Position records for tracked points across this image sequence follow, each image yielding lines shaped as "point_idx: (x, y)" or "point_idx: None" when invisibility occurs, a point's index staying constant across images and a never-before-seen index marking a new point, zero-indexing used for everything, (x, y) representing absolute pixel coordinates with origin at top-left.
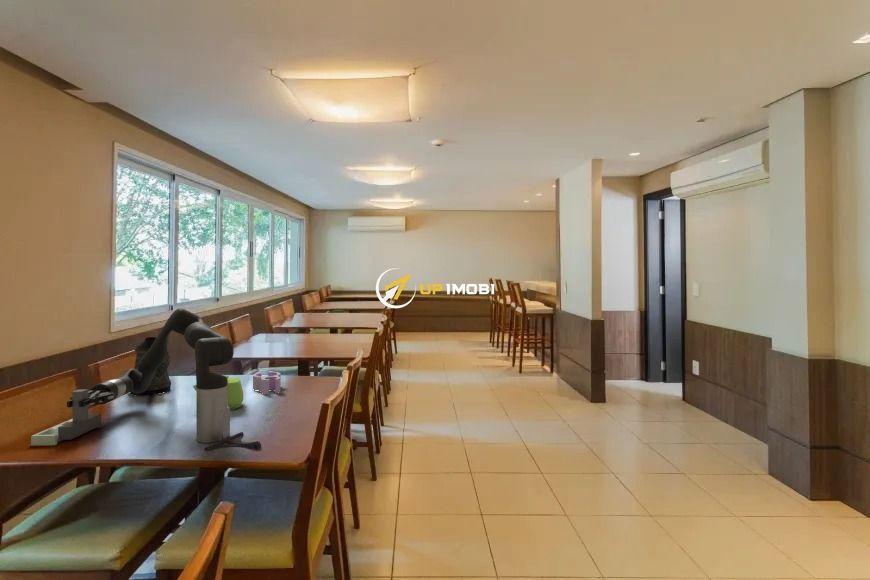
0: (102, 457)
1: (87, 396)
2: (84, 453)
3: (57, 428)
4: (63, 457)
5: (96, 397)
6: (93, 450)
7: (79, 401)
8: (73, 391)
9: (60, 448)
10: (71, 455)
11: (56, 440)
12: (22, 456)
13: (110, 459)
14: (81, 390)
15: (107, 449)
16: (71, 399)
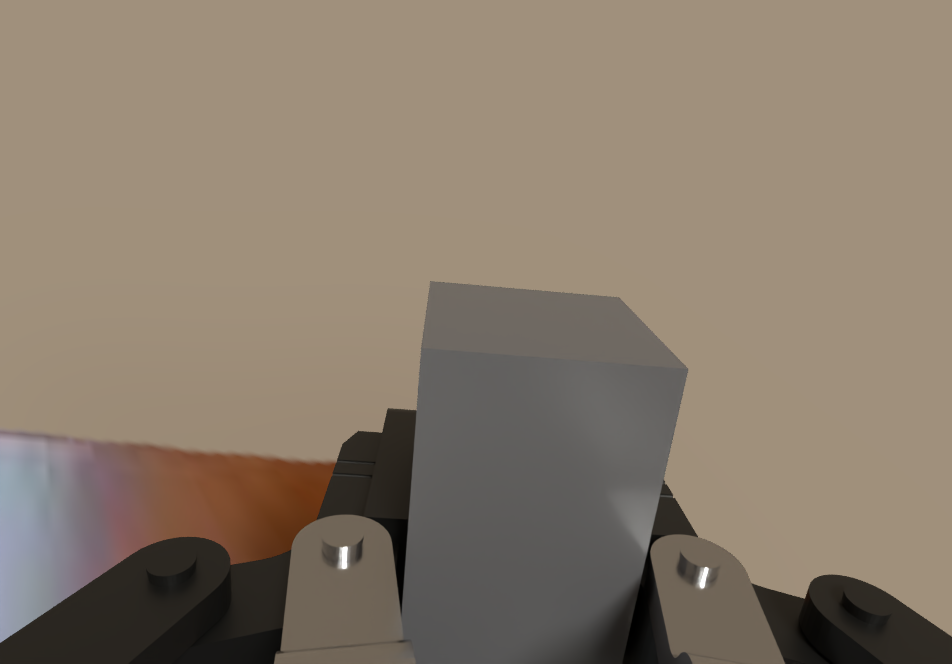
0: (57, 450)
1: (411, 513)
2: (178, 497)
3: None
4: (282, 470)
5: (183, 545)
6: (129, 527)
7: (411, 410)
8: (614, 303)
9: None
10: (248, 484)
11: None
12: None
13: (11, 431)
14: (510, 315)
15: (27, 532)
16: (795, 607)
